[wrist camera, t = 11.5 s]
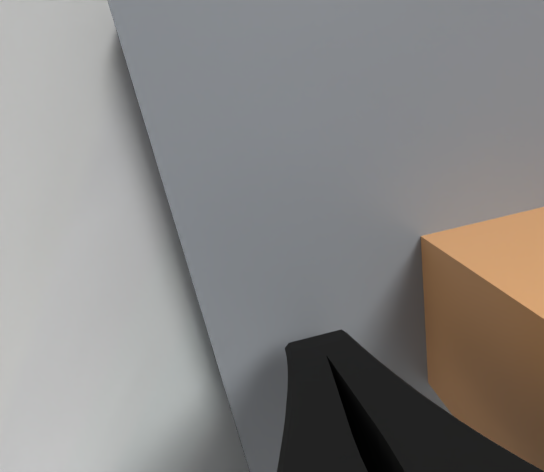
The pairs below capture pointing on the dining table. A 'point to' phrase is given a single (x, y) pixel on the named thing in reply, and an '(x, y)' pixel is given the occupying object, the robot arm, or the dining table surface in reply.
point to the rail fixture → (330, 165)
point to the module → (489, 327)
